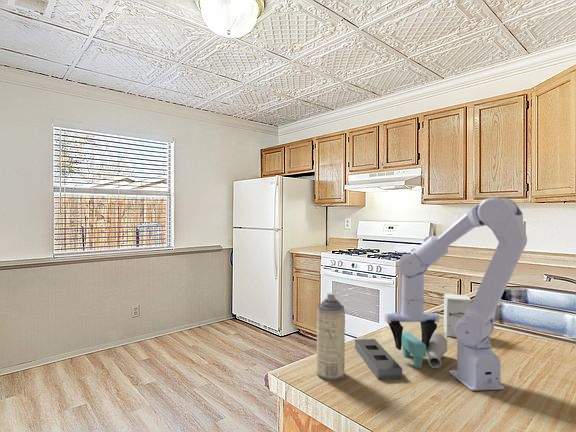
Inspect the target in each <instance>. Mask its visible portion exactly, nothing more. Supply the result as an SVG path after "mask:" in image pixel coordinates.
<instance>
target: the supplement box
mask: <svg viewBox="0 0 576 432" xmlns="http://www.w3.org/2000/svg"><path fill="white" fill-rule="evenodd" d="M471 303H472V299H471V298H470V296H468V295H466V294H451V293H444V294H443V331H444V335H445V337H453V338H456V336H455V334H454V325H455V323H456V322H457V321H458V320H459V319H461V318H462V317H463V316H464V314H465V312H466V310H467V309H468V308H469V306H470V305H471Z"/></svg>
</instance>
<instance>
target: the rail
mask: <svg viewBox="0 0 576 432" xmlns="http://www.w3.org/2000/svg"><path fill="white" fill-rule="evenodd" d="M354 349H355V351H356V352H357V353H358V354H359V356H360V357H361V358H362V360H363V361H364V363H365V364H366V365H367V366H368V368H369V370H370V371H371V372H372V373H373V375H374V376H375V377H376V379H377V380H397V379H403V367H402V366H400V364H399V363H398V362H397V361H396V360H395V359H394V358H393V356H391V355H390V354H389V352H388V351H387V350H385V348H384V347H383V346H382V345H381V344H380V343H379V342H378V341H377V340H376V338H368V339H367V338H365V339H359V338H358V339H354Z"/></svg>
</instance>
